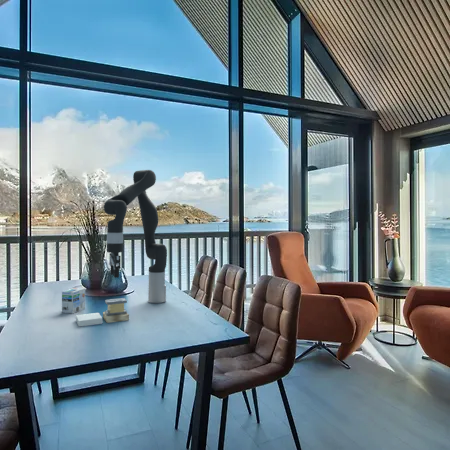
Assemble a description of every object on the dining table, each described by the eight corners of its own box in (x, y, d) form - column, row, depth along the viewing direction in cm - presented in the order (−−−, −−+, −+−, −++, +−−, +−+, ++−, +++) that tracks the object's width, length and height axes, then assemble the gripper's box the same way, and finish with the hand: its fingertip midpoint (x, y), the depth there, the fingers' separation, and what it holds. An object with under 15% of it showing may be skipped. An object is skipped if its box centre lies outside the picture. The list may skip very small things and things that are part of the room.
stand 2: (123, 314, 175) (123, 309, 175) (128, 320, 167) (128, 314, 167) (102, 317, 171) (102, 312, 171) (106, 322, 162) (107, 317, 162)
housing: (123, 310, 173) (124, 297, 173) (126, 313, 168) (126, 300, 168) (104, 313, 169) (105, 299, 169) (107, 316, 164) (107, 302, 164)
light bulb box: (73, 313, 176) (73, 292, 176) (61, 312, 177) (61, 291, 177) (85, 308, 186) (85, 288, 186) (74, 307, 188) (74, 287, 187)
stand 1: (98, 317, 170) (98, 312, 170) (102, 323, 161) (102, 318, 161) (76, 320, 165) (76, 315, 165) (78, 326, 156) (78, 320, 156)
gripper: (126, 243, 164) (126, 278, 164) (119, 241, 176) (119, 273, 177) (109, 243, 160) (109, 279, 160) (104, 241, 173) (103, 274, 173)
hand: (114, 276), depth 168 cm, fingers open, 8 cm apart
